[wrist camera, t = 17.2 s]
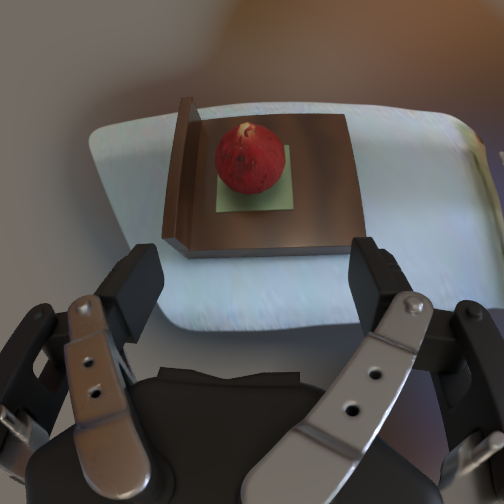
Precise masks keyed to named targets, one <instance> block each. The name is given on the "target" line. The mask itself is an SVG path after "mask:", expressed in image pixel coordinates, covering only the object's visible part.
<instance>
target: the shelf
mask: <svg viewBox="0 0 504 504" xmlns="http://www.w3.org/2000/svg"><path fill="white" fill-rule="evenodd" d="M246 122H249V123H251V124H256V125H261V126H264V127H266V128H267V129H269V130H271V131H272V132H274V133H275V134H276V135H277V136H278V138H279V139H280V141H281V142H282V144H283V145H284V149H285V158H286V164H285V167H284V170H283V173H282V175H281V178H280V179H279V180H278V181H277V182H276V183H275V184H274V185H273V186H272V187H271V188H269V189H267V190H265V191H264V192H262V193H259V194H248V195H245V194H242V193H238V192H235V191H232V190H231V189H230V188H229V187H228V186H227V185H226V184H225V183H224V182H223V181H222V180H221V179H220V177H219V175H218V172H217V169H216V167H215V154H216V147H217V145H218V144H219V142H220V140H221V138H222V137H223V135H224V134H226V133H227V132H228V131H229V130H231V129H232V128H234V127H237V126H239V125H240V124H244V123H246ZM353 237H366V229H365V221H364V214H363V207H362V200H361V194H360V188H359V182H358V176H357V171H356V165H355V160H354V155H353V150H352V145H351V141H350V136H349V131H348V127H347V123H346V119H345V115H344V114H270V115H252V116H239V117H227V118H218V119H209V120H201V118H200V116H199V113H198V111H197V108H196V106H195V103H194V101H193V98H192V97H187V98H182V99H181V102H180V107H179V113H178V118H177V123H176V129H175V135H174V141H173V147H172V153H171V160H170V167H169V174H168V181H167V189H166V198H165V206H164V216H163V226H162V237H161V238H162V239H163V240H165V241H166V242H167V243H168V244H170V245H171V246H172V247H174V248H175V249H176V250H178V251H179V252H180V253H182V254H183V255H184V256H185V257H187V258H188V259H192V258H229V257H264V256H298V255H330V254H350V252H351V243H352V239H353Z"/></svg>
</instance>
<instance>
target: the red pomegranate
mask: <svg viewBox="0 0 504 504" xmlns="http://www.w3.org/2000/svg"><path fill="white" fill-rule="evenodd" d="M285 164H286V158H285V149H284V145H283V144H282V142H281V141H280V139H279V138H278V136H277V135H276V134H275V133H274V132H272V131H271V130H269V129H267V128H266V127H264V126H261V125H256V124H251V123H249V122H246V123H244V124H240V125H239V126H237V127H234V128H232V129H231V130H229V131H228V132H227V133H226V134H224V135H223V137H222V138H221V140H220V142H219V144H218V145H217V147H216V154H215V167H216V169H217V172H218V175H219V177H220V179H221V180H222V181H223V182H224V183H225V184H226V185H227V186H228V187H229V188H230V189H231V190H232V191H235V192H238V193H242V194H245V195H248V194H259V193H262V192H264V191H265V190H267V189H269V188H271V187H272V186H273V185H274V184H275V183H276V182H277V181H278V180H279V179H280V178H281V175H282V173H283V170H284V167H285Z"/></svg>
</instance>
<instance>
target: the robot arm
mask: <svg viewBox="0 0 504 504" xmlns="http://www.w3.org/2000/svg"><path fill="white" fill-rule="evenodd" d="M348 281H349V287H350V290H351V293H352V296H353V300H354V303H355V306H356V310H357V313H358V316H359V320H360V323H361V327H362V330H363V334H364V340H363V341H362V343H361V344H360V346H359V347H358V349H357V350H356V351H355V353H354V354H353V356H352V357H351V359H350V360H349V361H348V363H347V364H346V366H345V367H344V368H343V370H342V371H341V373H340V374H339V375H338V377H337V378H336V379H335V381H334V382H333V383H332V385H331V386H330V387H329V388H328V390H327V391H325V390H324V389H322V388H319V387H317V386H314V385H311V384H307V383H302V382H300V372H274V373H259V374H254V375H249V376H243V377H238V378H232V379H222V378H218V377H214V376H211V375H207V374H204V373H201V372H197V371H194V370H188V369H175V368H166V367H160V369H159V372H158V375H157V377H153V378H148V379H145V380H142V381H139V382H137V380H136V377H135V375H134V372H133V370H132V367H131V365H130V362H129V359H128V356H127V354H126V352H125V350H124V347H123V346H124V344H125V342H126V343H135V344H137V342H138V340H139V338H140V335H141V333H142V331H143V329H144V327H145V325H146V323H147V320H148V318H149V316H150V314H151V312H152V310H153V308H154V306H155V304H156V302H157V300H158V298H159V296H160V294H161V292H162V290H163V287H164V274H163V270H162V267H161V263H160V259H159V256H158V252H157V248H156V246H155V245H154V244H153V243H151V244H137V245H135V247H134V248H133V249H132V250H131V252H130V253H129V255H128V256H126V257H124V258H123V259H121V260H120V261H119V262H117V264H116V265H115V266H114V268H113V269H112V271H111V272H110V273H109V274H108V277H106V278H105V279H104V281H103V282H102V283H101V285H100V286H99V288H98V289H97V291H96V292H95V293H94V294H93V295H86V296H82V297H81V298H78V299H77V300H75V301H74V302H73V303H72V304H71V305H70V307H69V308H68V311H67V312H62V313H56V314H55V312H54V310H53V308H52V306H51V305H50V304H47V303H43V304H39V305H37V306H35V307H33V308H32V309H31V310H30V311H29V312H28V313H27V314H26V316H25V317H24V318H23V320H22V321H21V323H20V324H19V326H18V327H17V328H16V330H15V331H14V333H13V334H12V336H11V337H10V339H9V340H8V342H7V343H6V345H5V346H4V348H3V349H2V351H1V353H0V472H1V473H2V474H4V475H6V476H9V477H10V478H12V479H14V480H15V481H17V482H19V483H20V484H23V485H25V488H26V499H27V504H504V340H503V338H502V336H501V334H500V332H499V330H498V328H497V327H496V325H495V323H494V321H493V320H492V318H491V316H490V314H489V313H488V311H487V310H486V309H485V308H484V307H483V306H482V305H481V304H479V303H477V302H475V301H471V300H463V301H460V302H459V303H458V304H457V305H456V307H455V310H454V312H452V311H445V310H438V309H434V308H433V304H432V302H431V301H430V300H429V299H428V298H427V297H426V296H424V295H422V294H420V293H418V292H414V291H413V289H412V288H411V286H410V284H409V282H408V280H407V279H406V277H405V275H404V273H403V272H401V268H400V267H399V265H398V263H397V262H396V260H395V258H394V257H393V255H392V254H390V253H389V252H388V251H386V250H385V249H378V247H377V245H376V244H375V242H374V240H373V238H372V237H353V239H352V243H351V252H350V261H349V270H348ZM41 349H42V350H43V351H44V353H45V354H46V356H47V357H48V358H49V360H48V362H47V363H46V365H45V367H44V369H43V371H42V373H41V374H40V376H39V378H37V377H36V376H35V374H34V372H33V363H34V361H35V359H36V357H37V356H38V354H39V352H40V350H41ZM467 364H468V367H469V369H470V372H471V374H470V372H469V369H468V367H467ZM411 369H417V370H425V371H430V374H431V377H432V381H433V384H434V388H435V391H436V395H437V399H438V402H439V406H440V410H441V414H442V419H443V423H444V427H445V432H446V437H447V441H448V447H449V452H450V453H448V454H447V456H446V457H445V458H444V460H443V462H442V465H441V476H440V481H439V484H438V486H436V485H435V483H433V481H432V480H431V479H429V478H428V477H427V476H426V475H425V474H423V473H422V472H421V471H419V470H418V469H417V468H416V467H415V466H414V465H412V464H411V463H410V462H409V461H408V460H407V459H405V458H404V457H403V456H402V455H401V454H399V453H398V452H397V451H396V450H395V449H393V448H392V447H391V446H390V445H389V444H388V443H387V442H386V441H384V440H383V439H382V438H381V437H380V436H379V435H378V432H379V430H380V429H381V427H382V425H383V423H384V422H385V420H386V418H387V416H388V415H389V413H390V411H391V409H392V407H393V405H394V403H395V401H396V399H397V398H398V396H399V393H400V392H401V390H402V388H403V386H404V383H405V381H406V379H407V377H408V375H409V373H410V371H411ZM68 390H69V392H70V398H71V404H72V408H73V413H74V418H75V424H74V425H72V426H71V427H69V428H68V429H66V430H65V431H64V432H62V433H60V434H59V435H57V436H56V437H54V438H53V439H52V440H50V441H49V437H50V435H51V432H52V429H53V427H54V424H55V421H56V419H57V417H58V414H59V411H60V409H61V407H62V404H63V402H64V400H65V397H66V395H67V393H68Z"/></svg>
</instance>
